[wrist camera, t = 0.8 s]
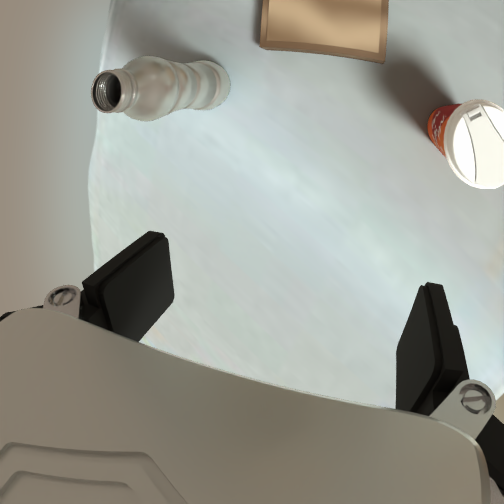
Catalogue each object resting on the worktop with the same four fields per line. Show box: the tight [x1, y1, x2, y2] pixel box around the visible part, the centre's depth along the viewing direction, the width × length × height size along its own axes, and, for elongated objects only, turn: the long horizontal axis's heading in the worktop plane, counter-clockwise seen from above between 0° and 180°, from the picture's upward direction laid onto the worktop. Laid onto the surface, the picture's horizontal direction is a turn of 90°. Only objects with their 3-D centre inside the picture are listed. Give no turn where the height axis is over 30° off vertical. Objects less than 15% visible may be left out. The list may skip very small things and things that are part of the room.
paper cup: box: [427, 100, 504, 189], centre depth 25 cm, size 8×8×14 cm
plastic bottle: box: [91, 56, 230, 121], centre depth 30 cm, size 6×7×20 cm
